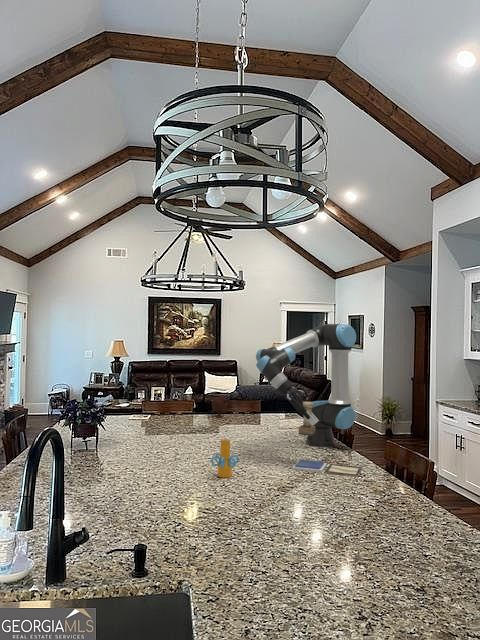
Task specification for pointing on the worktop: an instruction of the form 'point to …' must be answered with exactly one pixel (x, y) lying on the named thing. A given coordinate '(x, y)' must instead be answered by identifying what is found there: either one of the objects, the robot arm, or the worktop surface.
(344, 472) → the marked board
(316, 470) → the ink pad
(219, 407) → the ice cream bowl
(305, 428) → the stamp
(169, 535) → the worktop surface
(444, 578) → the worktop surface
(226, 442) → the orange post with loops
